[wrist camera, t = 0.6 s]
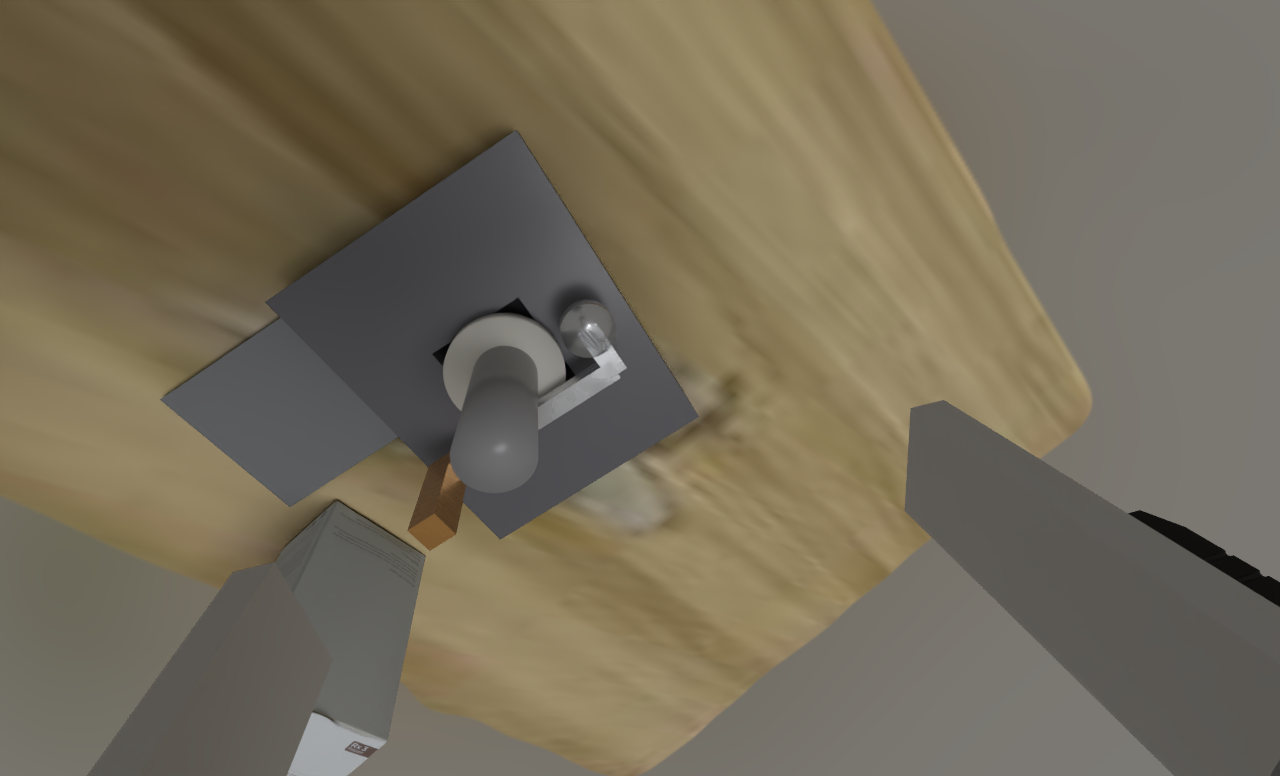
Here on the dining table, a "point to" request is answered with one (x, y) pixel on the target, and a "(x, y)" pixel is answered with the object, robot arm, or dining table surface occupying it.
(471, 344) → the plug
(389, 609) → the skincare box
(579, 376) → the clip
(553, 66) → the dining table surface
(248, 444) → the pad
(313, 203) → the dining table surface
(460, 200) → the socket block
